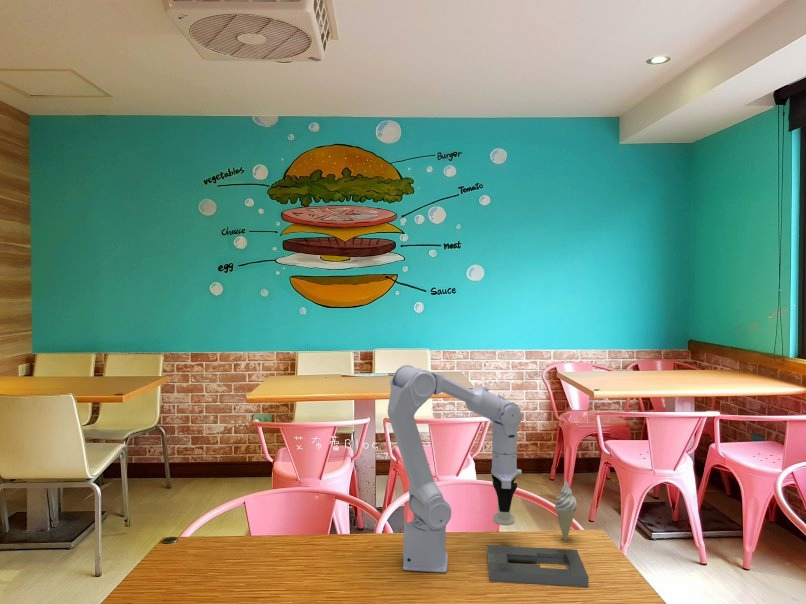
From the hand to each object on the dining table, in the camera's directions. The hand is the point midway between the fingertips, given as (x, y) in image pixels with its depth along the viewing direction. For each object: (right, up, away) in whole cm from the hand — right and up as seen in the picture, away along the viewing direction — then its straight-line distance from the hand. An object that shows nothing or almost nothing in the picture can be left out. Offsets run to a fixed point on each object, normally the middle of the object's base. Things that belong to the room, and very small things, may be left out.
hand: (503, 508), depth 131 cm
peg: (0, -3, 0) cm, 3 cm away
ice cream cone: (+16, -9, +3) cm, 18 cm away
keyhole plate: (+5, -9, -10) cm, 15 cm away
